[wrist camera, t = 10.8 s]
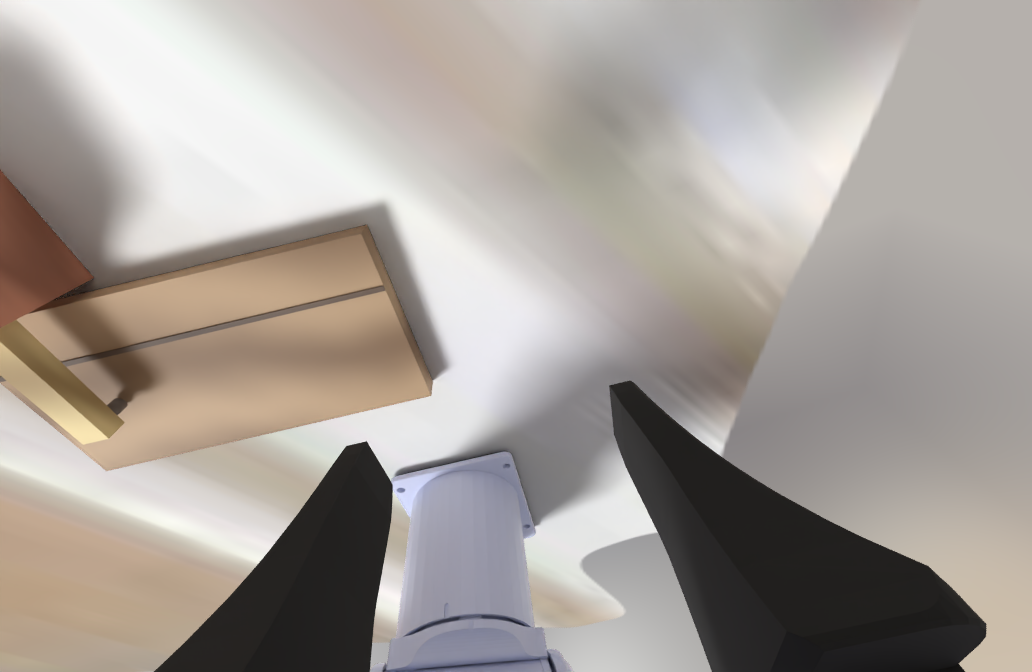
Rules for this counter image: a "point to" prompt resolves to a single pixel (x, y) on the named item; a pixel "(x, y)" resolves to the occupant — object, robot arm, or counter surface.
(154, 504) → the counter surface
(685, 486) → the robot arm
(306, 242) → the board
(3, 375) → the brown block with stick
